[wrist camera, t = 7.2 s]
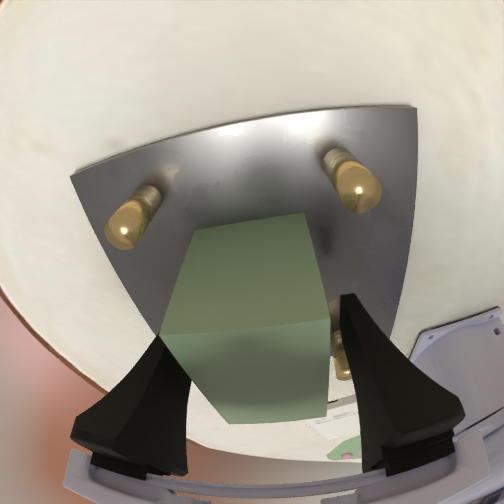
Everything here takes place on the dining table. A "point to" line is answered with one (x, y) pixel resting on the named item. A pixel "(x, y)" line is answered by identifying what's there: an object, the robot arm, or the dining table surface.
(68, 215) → the dining table surface
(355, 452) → the plant
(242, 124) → the chassis
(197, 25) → the dining table surface
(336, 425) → the external hard drive
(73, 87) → the dining table surface
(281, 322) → the board block
